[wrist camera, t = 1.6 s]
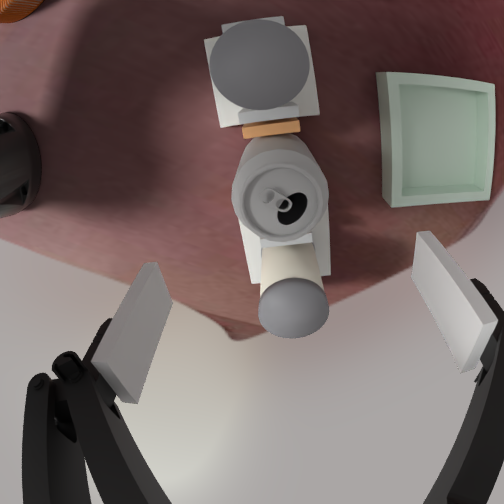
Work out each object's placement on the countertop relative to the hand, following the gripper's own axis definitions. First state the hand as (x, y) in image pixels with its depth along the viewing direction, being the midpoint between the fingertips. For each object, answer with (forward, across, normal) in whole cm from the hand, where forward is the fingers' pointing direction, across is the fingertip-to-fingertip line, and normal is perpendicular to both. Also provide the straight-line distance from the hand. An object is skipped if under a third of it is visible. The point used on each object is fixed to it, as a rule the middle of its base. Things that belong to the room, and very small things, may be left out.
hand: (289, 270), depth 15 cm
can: (+20, 0, 0) cm, 20 cm away
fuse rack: (+20, 0, 0) cm, 20 cm away
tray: (+20, +19, +2) cm, 28 cm away
